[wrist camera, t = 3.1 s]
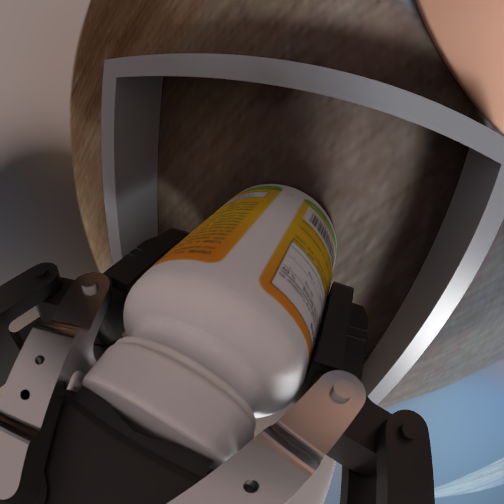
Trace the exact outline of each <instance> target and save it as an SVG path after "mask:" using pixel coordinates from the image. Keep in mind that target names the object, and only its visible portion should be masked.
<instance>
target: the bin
mask: <svg viewBox="0 0 504 504" xmlns="http://www.w3.org/2000/svg"><path fill="white" fill-rule="evenodd" d="M163 76H187V77H206V78H219V79H230V80H239V81H248V82H255V83H262V84H269V85H275V86H281V87H287V88H292V89H298V90H303V91H307V92H312V93H317V94H321V95H325V96H329V97H333V98H337V99H341V100H345V101H349V102H352V103H356V104H359V105H363V106H366V107H369V108H373V109H376V110H379V111H382V112H385V113H388V114H391V115H394V116H397V117H399V118H402V119H405V120H408V121H410V122H413V123H416V124H418V125H421V126H423V127H426V128H428V129H430V130H433V131H435V132H438V133H440V134H442V135H444V136H447V137H449V138H451V139H453V140H455V141H458V142H460V143H462V144H464V145H466V146H468V147H469V150H468V154H467V157H466V160H465V163H464V166H463V169H462V172H461V175H460V178H459V181H458V184H457V187H456V190H455V192H454V195H453V198H452V200H451V203H450V206H449V208H448V211H447V213H446V215H445V218H444V220H443V223H442V225H441V227H440V230H439V232H438V234H437V236H436V239H435V241H434V243H433V245H432V247H431V249H430V252H429V254H428V256H427V258H426V260H425V262H424V264H423V266H422V268H421V270H420V272H419V274H418V276H417V278H416V280H415V281H414V283H413V285H412V287H411V289H410V291H409V293H408V294H407V296H406V298H405V300H404V301H403V303H402V305H401V307H400V308H399V310H398V312H397V313H396V315H395V317H394V318H393V320H392V322H391V323H390V325H389V327H388V328H387V330H386V331H385V333H384V335H383V336H382V338H381V339H380V341H379V342H378V344H377V345H376V347H375V348H374V350H373V351H372V353H371V354H370V356H369V357H368V359H367V360H366V362H365V363H364V364H363V371H362V384H363V385H364V388H365V391H366V395H367V397H368V398H369V399H370V400H371V401H372V402H373V403H375V404H376V405H377V404H378V403H379V402H380V401H381V400H382V399H383V398H384V397H385V396H386V395H387V394H388V393H389V392H390V391H391V390H392V389H393V387H394V386H395V385H396V384H397V383H398V382H399V381H400V380H401V378H402V377H403V376H404V375H405V374H406V373H407V372H408V370H409V369H410V368H411V367H412V366H413V364H414V363H415V362H416V361H417V360H418V358H419V357H420V356H421V355H422V353H423V352H424V351H425V349H426V348H427V347H428V346H429V344H430V343H431V342H432V340H433V339H434V338H435V336H436V335H437V334H438V332H439V331H440V329H441V328H442V327H443V325H444V324H445V322H446V321H447V319H448V318H449V316H450V315H451V313H452V312H453V310H454V309H455V307H456V306H457V304H458V303H459V301H460V300H461V298H462V296H463V295H464V293H465V292H466V290H467V288H468V287H469V285H470V283H471V282H472V280H473V278H474V276H475V275H476V273H477V271H478V269H479V267H480V266H481V264H482V262H483V260H484V258H485V256H486V254H487V252H488V250H489V248H490V246H491V244H492V242H493V240H494V238H495V236H496V234H497V232H498V229H499V227H500V225H501V223H502V220H503V218H504V137H503V136H501V135H500V134H498V133H496V132H495V131H493V130H491V129H489V128H488V127H486V126H484V125H482V124H480V123H478V122H476V121H475V120H473V119H471V118H469V117H467V116H465V115H463V114H461V113H458V112H456V111H454V110H452V109H450V108H448V107H445V106H443V105H441V104H439V103H436V102H434V101H432V100H429V99H427V98H424V97H422V96H419V95H417V94H414V93H411V92H409V91H406V90H403V89H400V88H397V87H394V86H391V85H388V84H385V83H382V82H379V81H376V80H372V79H369V78H366V77H362V76H358V75H355V74H351V73H347V72H343V71H339V70H334V69H330V68H325V67H321V66H316V65H311V64H305V63H300V62H294V61H287V60H280V59H273V58H265V57H256V56H245V55H231V54H209V53H175V54H153V55H140V56H129V57H120V58H113V59H105V60H104V69H103V83H102V103H101V157H102V178H103V192H104V204H105V214H106V223H107V231H108V239H109V246H110V253H111V259H112V265H114V264H115V263H117V262H118V261H119V260H121V259H122V258H123V257H124V256H126V255H127V254H128V255H129V252H131V251H132V250H133V249H136V247H137V246H139V245H140V244H141V243H143V242H144V241H145V240H148V239H150V238H153V237H156V236H158V215H157V175H158V142H159V123H160V108H161V96H162V85H163Z"/></svg>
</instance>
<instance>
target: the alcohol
mask: <svg viewBox="0 0 504 504" xmlns="http://www.w3.org/2000/svg"><path fill="white" fill-rule="evenodd" d="M294 405H295V403H292V402H291V403H289V404H288V405H287V406H286V407H285V408H283V409H282V410H280V411H278V412H276V413H274V414H272V415H269V416H265V417H261V418H255V419H256V427H255V431H254V437H256V436H257V435H258V434H259V433H260V432H261V431H263V430H264V429H265V428H267V427H268V426H270V425H271V426H272V425H273V424H275V423H276V422H277V421H278V420H279V419H280V418H281V417H282V416H283V415H284V414H285V413H286V412H288V411H289V410H290V409H291V408H292V407H293V406H294ZM335 464H336V461H335V460H333V459H332V458H330V457H329V456H327V455H325V456H324V458H323V459H322V460H321V462H320V465H319V467H318V468H317V470H316V471H315V472H314V473H313V474H312V476H311V477H310V478H309V479H308V480H307V481H306V482H305V483H304V484H303V485H302V486H301V487H300V488H299V490H298V491H297V492H296V493H295V494H294V495H293V496H292V497H291V498H290V499H289V500H288V501H287V502H286V503H285V504H324V501H325V498H326V494H327V491H328V488H329V485H330V481H331V478H332V475H333V471H334V467H335Z"/></svg>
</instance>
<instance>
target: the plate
mask: <svg viewBox="0 0 504 504" xmlns="http://www.w3.org/2000/svg"><path fill="white" fill-rule="evenodd" d="M416 3H417V7H418V9H419V12H420V14H421V17H422V19H423V22H424V24H425V27H426V29H427V31H428V33H429V35H430V37H431V39H432V41H433V43H434V45H435V47H436V49H437V50H438V52H439V54H440V56H441V57H442V59H443V61H444V63H445V64H446V66H447V67H448V69H449V70H450V72H451V74H452V75H453V77H454V78H455V80H456V81H457V83H458V84H459V85H460V87H461V88H462V90H463V91H464V92H465V94H466V95H467V96H468V98H469V99H470V100H471V102H472V103H473V104H474V105H475V106H476V108H477V109H478V110H479V111H480V113H481V114H482V115H483V116H484V117H485V118H486V119H487V120H488V121H489V122H490V123H491V124H492V126H493V127H494V128H495V129H496V130H497V131H499V132H500V133H501V134H502V135H503V136H504V0H416Z"/></svg>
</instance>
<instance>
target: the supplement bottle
mask: <svg viewBox="0 0 504 504" xmlns="http://www.w3.org/2000/svg"><path fill="white" fill-rule="evenodd" d="M336 254H337V240H336V234H335V230H334V227H333V225H332V222H331V220H330V218H329V217H328V215H327V214H326V212H325V211H324V209H323V208H322V207H321V206H320V205H319V204H318V203H317V202H316V201H315V200H314V199H313V198H311V197H310V196H308V195H307V194H305V193H304V192H302V191H300V190H298V189H295V188H292V187H289V186H285V185H280V184H263V185H257V186H253V187H250V188H248V189H245V190H244V191H242V192H240V193H239V194H237V195H236V196H234V197H233V198H232V199H230V200H229V201H228V202H227V203H226V204H224V205H223V206H222V207H221V208H219V209H218V210H217V211H216V212H215V213H214V214H212V215H211V216H210V217H209V218H208V219H206V220H205V221H204V222H203V223H202V224H200V225H199V226H198V227H197V228H196V229H194V230H193V231H192V232H191V233H190V234H189V235H187V236H186V237H185V238H184V239H183V240H182V241H180V242H179V243H178V244H177V245H176V246H175V247H173V248H172V249H171V250H170V251H169V252H168V253H166V254H165V255H164V256H163V257H162V258H161V259H159V260H158V261H157V262H156V263H155V264H154V265H153V266H152V267H151V268H150V269H148V270H147V271H146V272H145V273H144V274H143V275H142V277H141V278H140V279H139V280H138V281H137V282H136V283H135V284H134V285H133V287H132V288H131V290H130V292H129V294H128V296H127V298H126V301H125V305H124V311H123V321H124V328H125V332H126V336H127V337H124V338H121V339H119V340H117V341H116V342H115V344H114V345H112V346H110V347H109V348H108V349H107V350H106V351H105V353H104V354H103V355H102V356H101V358H100V359H99V360H98V361H97V362H96V363H95V365H94V366H93V367H92V368H91V369H90V371H89V372H88V373H87V374H86V375H85V377H84V379H83V382H82V385H83V386H84V387H85V388H87V389H88V390H89V391H91V392H92V393H93V394H95V395H96V396H98V397H99V398H100V399H102V400H103V401H105V402H106V403H108V404H109V405H110V406H111V407H112V408H113V409H114V410H115V412H116V413H117V414H118V415H119V416H120V417H121V418H122V419H123V420H124V421H125V422H126V423H127V424H128V425H129V426H130V428H131V429H132V430H134V431H135V432H137V433H139V434H142V435H146V436H149V437H152V438H156V439H159V440H163V441H167V442H171V443H175V444H177V445H179V446H181V447H183V448H185V449H187V450H190V451H192V452H194V453H196V454H198V455H200V456H203V457H205V458H207V459H209V460H212V461H213V467H212V468H213V469H214V470H215V469H217V468H218V467H219V466H220V465H222V464H223V463H224V462H226V461H227V460H228V459H229V458H231V457H232V456H233V455H234V454H235V453H237V452H238V451H239V450H240V449H242V448H243V447H244V446H245V445H246V444H247V443H249V442H250V441H251V440H252V439H253V438H254V431H255V427H256V419H255V418H261V417H265V416H269V415H272V414H274V413H276V412H278V411H280V410H282V409H283V408H285V407H286V406H287V405H288V404H289V403H291V402H292V401H293V399H294V398H295V397H296V396H297V394H298V392H299V391H300V389H301V387H302V385H303V382H304V379H305V377H306V374H307V371H308V368H309V365H310V361H311V358H312V355H313V351H314V347H315V343H316V339H317V336H318V332H319V329H320V325H321V321H322V317H323V313H324V309H325V305H326V301H327V297H328V293H329V289H330V284H331V280H332V275H333V271H334V267H335V261H336Z"/></svg>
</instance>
